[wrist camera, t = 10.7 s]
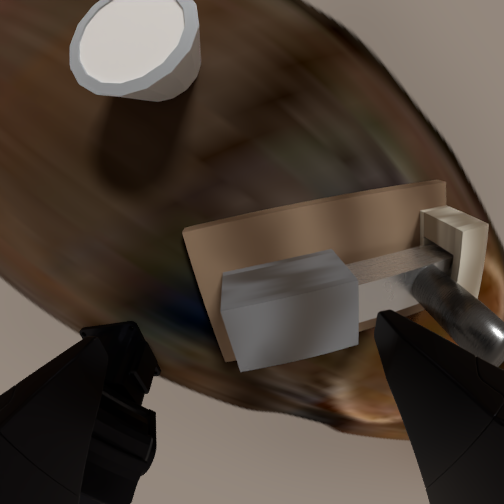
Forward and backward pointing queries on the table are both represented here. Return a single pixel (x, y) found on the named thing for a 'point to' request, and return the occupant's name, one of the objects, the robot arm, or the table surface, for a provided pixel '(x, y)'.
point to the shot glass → (137, 48)
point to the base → (318, 267)
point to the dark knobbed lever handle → (429, 297)
